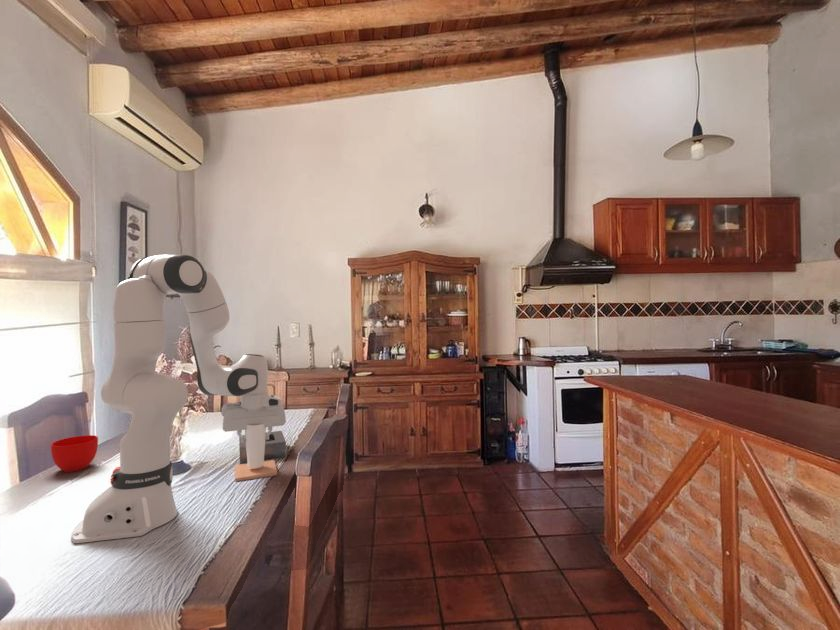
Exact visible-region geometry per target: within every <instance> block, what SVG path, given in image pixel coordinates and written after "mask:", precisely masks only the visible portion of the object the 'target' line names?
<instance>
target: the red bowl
mask: <svg viewBox="0 0 840 630" xmlns="http://www.w3.org/2000/svg"><path fill="white" fill-rule="evenodd" d="M98 446H99V436H97V435H93V434H92V435H91V434H89V435H85V434H84V435H76V436H71V437H66V438H62V439H59V440H58V439H57V440H56V441H54V442H52V443H51V445H50V451H51V457H52V460H53V462H54V464H55V466H56V467H58V468H59V469H60V470H61V471H63V472H64V473H73V472H78V471H82V470H84V469H86V468H88V467H89V465H90V464H91V463H92V462H93V460H94V459H95V457H96V454H97V451H98Z"/></svg>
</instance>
